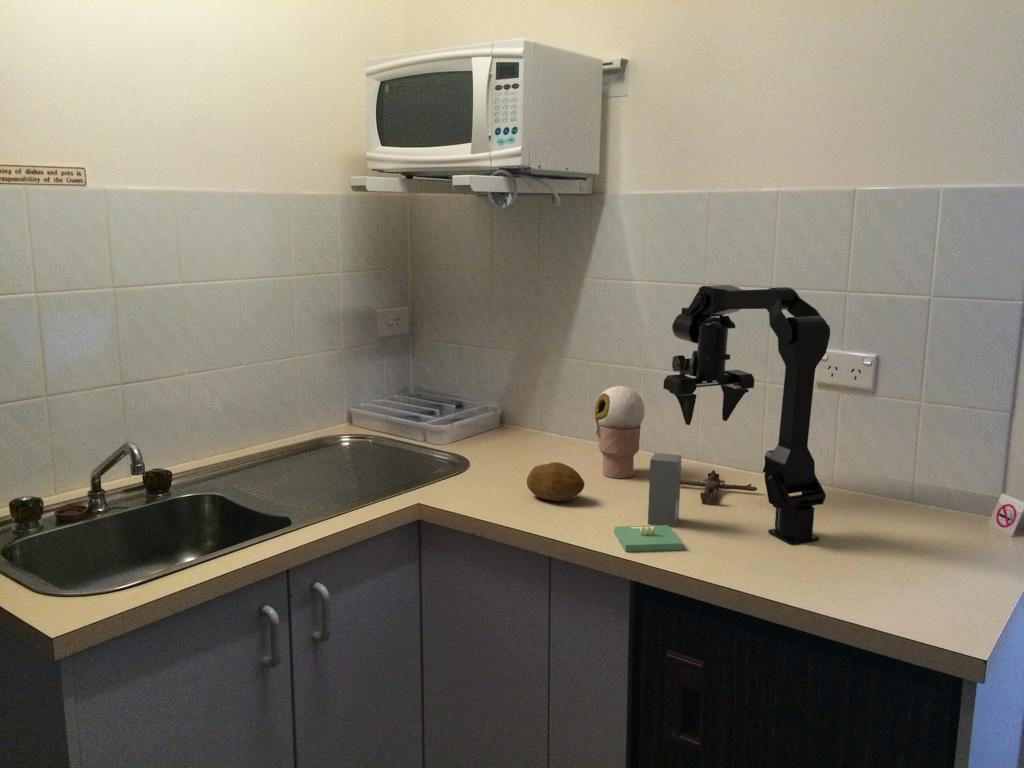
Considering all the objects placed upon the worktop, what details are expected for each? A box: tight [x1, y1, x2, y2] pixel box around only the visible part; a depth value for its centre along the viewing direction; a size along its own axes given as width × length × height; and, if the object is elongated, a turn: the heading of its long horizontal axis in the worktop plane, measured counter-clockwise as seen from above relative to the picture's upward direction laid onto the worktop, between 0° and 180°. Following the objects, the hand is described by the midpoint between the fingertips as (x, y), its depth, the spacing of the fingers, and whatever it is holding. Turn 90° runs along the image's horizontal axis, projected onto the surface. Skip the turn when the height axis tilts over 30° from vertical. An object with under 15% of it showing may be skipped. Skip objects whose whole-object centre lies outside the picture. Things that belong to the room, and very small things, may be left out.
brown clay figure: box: [680, 469, 758, 506], centre depth 180 cm, size 18×4×14 cm
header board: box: [613, 525, 683, 553], centre depth 154 cm, size 10×9×3 cm
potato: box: [526, 461, 585, 502], centre depth 176 cm, size 8×12×8 cm, turn 70°
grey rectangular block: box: [647, 452, 682, 528], centre depth 163 cm, size 5×5×12 cm
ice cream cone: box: [594, 385, 646, 480], centre depth 192 cm, size 11×11×20 cm
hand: (706, 422), depth 178 cm, fingers open, 9 cm apart
